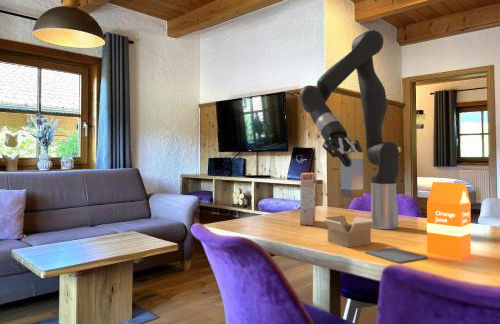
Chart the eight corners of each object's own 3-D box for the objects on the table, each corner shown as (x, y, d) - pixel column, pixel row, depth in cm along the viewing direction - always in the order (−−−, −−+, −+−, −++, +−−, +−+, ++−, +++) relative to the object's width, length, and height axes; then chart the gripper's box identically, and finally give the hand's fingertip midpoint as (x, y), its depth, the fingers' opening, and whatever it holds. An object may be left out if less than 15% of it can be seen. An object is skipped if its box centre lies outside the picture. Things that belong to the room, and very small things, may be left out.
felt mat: (393, 248, 111) (393, 247, 111) (428, 258, 100) (428, 256, 100) (364, 252, 106) (364, 251, 106) (398, 263, 95) (398, 261, 95)
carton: (350, 236, 128) (350, 214, 128) (381, 245, 115) (381, 220, 115) (318, 240, 122) (318, 217, 122) (346, 249, 109) (346, 224, 109)
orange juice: (438, 248, 111) (438, 181, 111) (471, 254, 104) (471, 182, 104) (426, 253, 106) (426, 182, 106) (460, 259, 99) (460, 183, 99)
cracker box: (314, 226, 149) (314, 173, 149) (299, 225, 150) (299, 173, 150) (315, 220, 163) (315, 172, 162) (301, 220, 164) (301, 172, 164)
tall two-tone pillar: (352, 195, 121) (352, 152, 120) (362, 197, 116) (362, 152, 116) (340, 196, 119) (340, 152, 119) (351, 198, 114) (351, 152, 114)
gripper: (317, 119, 121) (342, 156, 110) (352, 121, 127) (378, 156, 117) (308, 136, 126) (330, 173, 115) (342, 137, 132) (366, 172, 121)
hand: (354, 164), depth 116 cm, fingers closed on tall two-tone pillar, 4 cm apart
